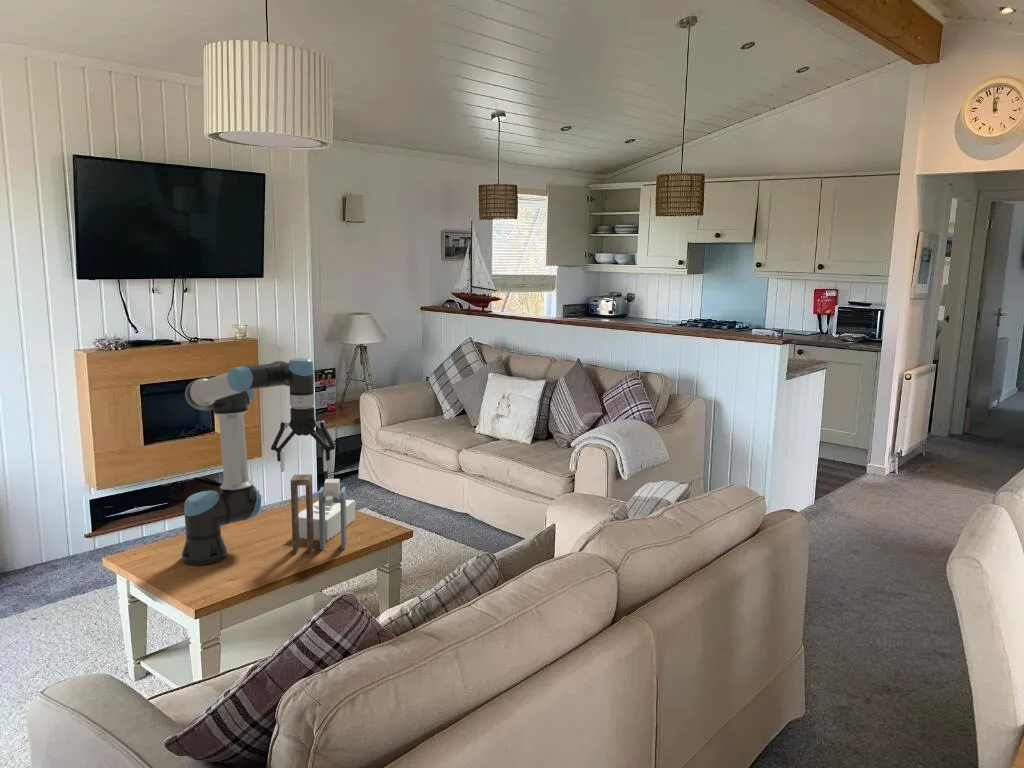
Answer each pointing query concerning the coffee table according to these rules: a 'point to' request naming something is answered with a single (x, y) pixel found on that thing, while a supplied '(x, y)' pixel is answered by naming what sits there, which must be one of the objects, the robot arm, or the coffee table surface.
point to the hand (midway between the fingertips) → (304, 470)
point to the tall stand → (306, 481)
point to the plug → (331, 490)
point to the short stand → (322, 517)
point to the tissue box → (326, 519)
